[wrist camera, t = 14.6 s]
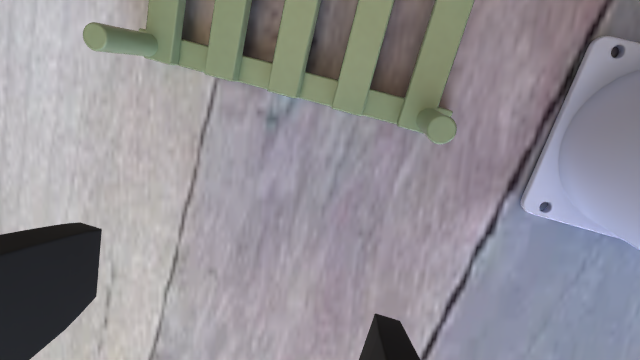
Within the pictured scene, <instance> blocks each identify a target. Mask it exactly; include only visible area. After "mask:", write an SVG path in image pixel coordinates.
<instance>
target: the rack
mask: <svg viewBox="0 0 640 360" xmlns="http://www.w3.org/2000/svg"><path fill="white" fill-rule="evenodd" d="M394 1H395V0H359V1H358V5H357V9H356V13H355V16H354V20H353V24H352V28H351V32H350V36H349V40H348V44H347V48H346V52H345V56H344V59H343V63H342V67H341V71H340V75H339V79H338V80H336V79H332V78H328V77H324V76H320V75H317V74H313V73H309V72H305V70H306V65H307V61H308V57H309V52H310V48H311V43H312V39H313V35H314V30H315V26H316V22H317V17H318V13H319V8H320V4H321V0H285V3H284V8H283V13H282V18H281V23H280V28H279V33H278V38H277V43H276V48H275V53H274V58H273V63H271V62H267V61H264V60H260V59H256V58H252V57H249V56H245V55H242V54H243V48H244V43H245V37H246V32H247V26H248V20H249V15H250V9H251V3H252V0H215V5H214V11H213V18H212V25H211V31H210V38H209V45H208V46H207V45H203V44H199V43H196V42H192V41H188V40H184V39H181V37H182V29H183V21H184V13H185V6H186V0H149V5H148V15H147V25H146V30H145V29H139V31H134V30H129V29H125V28H120V27H115V26H110V25H105V24H100V23H95V22H93V23H90V24H88V25H86V27H85V28H84V31H83V38H84V41H85V43H86V45H87V46H88V47H89V48H90V49H92V50H94V51H100V52H109V53H119V54H129V55H138V56H144V57H145V58H147V59H151V60H154V61H158V62H162V63H166V64H169V65H179V66H182V67H186V68H190V69H193V70H197V71H201V72H204V73H205V74H206V75H210V76H213V77H217V78H221V79H225V80H228V81H238V82H241V83H245V84H249V85H253V86H256V87H260V88H264V89H267V91H269V92H273V93H276V94H280V95H284V96H288V97H291V98H301V99H304V100H308V101H312V102H315V103H319V104H323V105H327V106H330V107H332V109H335V110H339V111H343V112H347V113H350V114H354V115H358V116H362V115H364V116H367V117H371V118H375V119H378V120H382V121H386V122H389V123H393V124H397V126H398V127H402V128H405V129H409V130H413V131H417V132H420V133H424V134H425V135H426V136H427V137H428V138H429V139H430V140H431V141H432V142H433V143H436V144H445V143H448V142H450V141H451V140H452V139H453V138H454V136H455V134H456V131H457V127H456V123H455V122H454V120H453V119H452V118H451V116H452V113H453V112H452V111H451V110H449V109H445V108H442V107H438V106H439V103H440V100H441V97H442V94H443V91H444V88H445V85H446V82H447V79H448V76H449V73H450V71H451V68H452V65H453V62H454V59H455V56H456V53H457V50H458V47H459V44H460V41H461V38H462V35H463V32H464V30H465V27H466V24H467V21H468V18H469V15H470V12H471V9H472V6H473V3H474V0H435V3H434V6H433V9H432V12H431V16H430V19H429V22H428V25H427V28H426V32H425V35H424V38H423V41H422V44H421V48H420V51H419V54H418V57H417V60H416V64H415V67H414V70H413V73H412V76H411V80H410V83H409V86H408V89H407V92H406V96H405V98H404V97H400V96H396V95H392V94H389V93H385V92H381V91H377V90H373V89H370V86H371V82H372V79H373V75H374V71H375V68H376V64H377V61H378V57H379V54H380V50H381V47H382V43H383V40H384V36H385V33H386V29H387V25H388V22H389V18H390V15H391V11H392V8H393V4H394Z"/></svg>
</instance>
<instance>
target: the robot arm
mask: <svg viewBox="0 0 640 360" xmlns="http://www.w3.org/2000/svg"><path fill="white" fill-rule="evenodd" d="M615 46H616V47H618V49H619V54H618V56H617V57H616V58H613V57H612V56H611V50H612V49H613V47H615ZM543 202H548V206H547V208H546V209H543V210H540V209H539V208H540V205H541V204H542V203H543ZM520 203H521V207H522V208H523V209H524V210H525V211H526V212H528V213H530V214H533V215H537V216H540V217H544V218H548V219H551V220H555V221H558V222H562V223H565V224H569V225H572V226H576V227H580V228H583V229H587V230H590V231H594V232H597V233H601V234H605V235H608V236H612V237H615V238H619V239H622V240H624V241H626V242H627V243H629V244H630V245H632V246H633V247H635V248H637V249H638V250H640V43H637V42H633V41H629V40H625V39H621V38H616V37H612V36H602V37H599V38H596V39H595V40H593V41H592V42H591V43H590V45H589V46H588V49H587V51H586V53H585V55H584V58H583V60H582V62H581V64H580V67H579V69H578V71H577V74H576V76H575V78H574V80H573V83H572V85H571V87H570V89H569V92H568V94H567V96H566V98H565V101H564V103H563V105H562V108H561V110H560V112H559V114H558V117H557V119H556V121H555V123H554V126H553V128H552V130H551V132H550V135H549V137H548V139H547V142H546V144H545V146H544V148H543V151H542V153H541V155H540V157H539V160H538V162H537V164H536V167H535V169H534V171H533V173H532V176H531V178H530V180H529V182H528V185H527V187H526V189H525V191H524V194H523V196H522V198H521V202H520ZM101 231H102V229H99V228H96V227H93V226H90V225H86V224H83V223H69V224H61V225H54V226H48V227H42V228H36V229H30V230H25V231H19V232H14V233H8V234H2V235H0V360H29V359H31V358H32V357H33V356H34V355H35V354H37V353H38V352H39V351H40V350H41V349H43V348H44V347H45V346H46V345H47V344H49V343H50V342H51V341H52V340H53V339H55V338H56V337H57V336H58V335H59V334H60V333H62V332H63V331H64V330H65V329H66V328H67V327H68V326H69V325H70V324H71V323H72V322H73V321H74V320H75V319H76V318H77V317H78V316H79V315H80V314H81V313H82V311H83V310H84V309H85V308H86V307H87V306H88V305H89V304H90V303H91V302H92V301H93V299H94V298H95V297H96V292H97V280H98V268H99V255H100V243H101ZM359 360H420V358H419V357H418V355H417V353H416V351H415V349H414V347H413V345H412V343H411V341H410V339H409V337H408V336H407V334H406V332H405V330H404V328H403V326H402V324H401V322H400V321H398V320H395V319H392V318H388V317H385V316H382V315H379V314H375V315H374V318H373V321H372V324H371V327H370V330H369V333H368V335H367V338H366V341H365V344H364V347H363V350H362V353H361V356H360V358H359Z"/></svg>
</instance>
